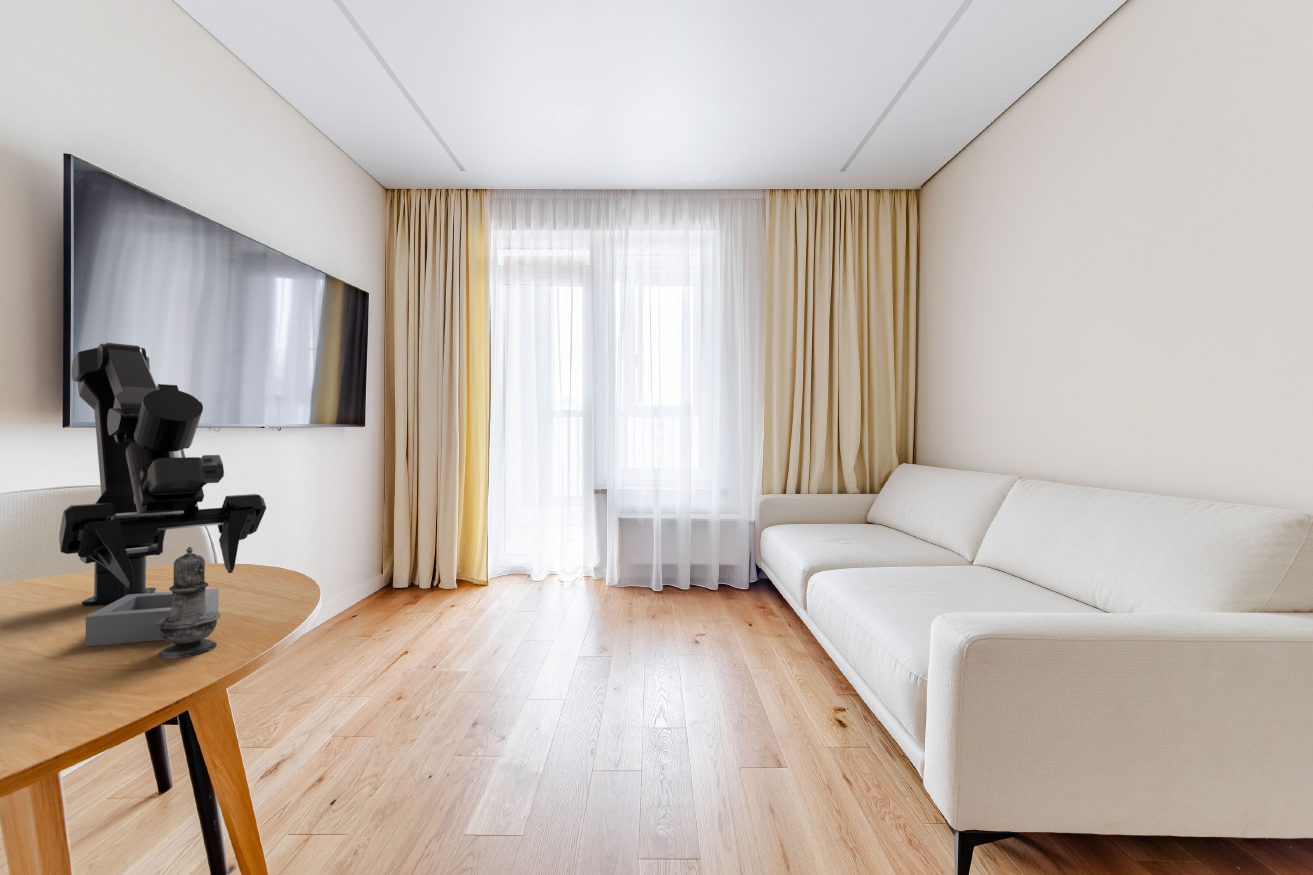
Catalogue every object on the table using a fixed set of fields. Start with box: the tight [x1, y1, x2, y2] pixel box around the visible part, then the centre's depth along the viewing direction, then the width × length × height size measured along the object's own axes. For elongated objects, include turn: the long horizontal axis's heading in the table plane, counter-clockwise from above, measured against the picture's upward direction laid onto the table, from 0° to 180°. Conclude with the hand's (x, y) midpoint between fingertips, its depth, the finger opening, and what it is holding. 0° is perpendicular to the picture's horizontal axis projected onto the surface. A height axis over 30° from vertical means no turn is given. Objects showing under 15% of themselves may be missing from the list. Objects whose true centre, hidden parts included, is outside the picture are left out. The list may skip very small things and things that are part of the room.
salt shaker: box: [156, 546, 221, 660], centre depth 67 cm, size 6×6×12 cm
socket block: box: [85, 588, 220, 648], centre depth 74 cm, size 10×10×4 cm
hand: (184, 577), depth 67 cm, fingers open, 9 cm apart
